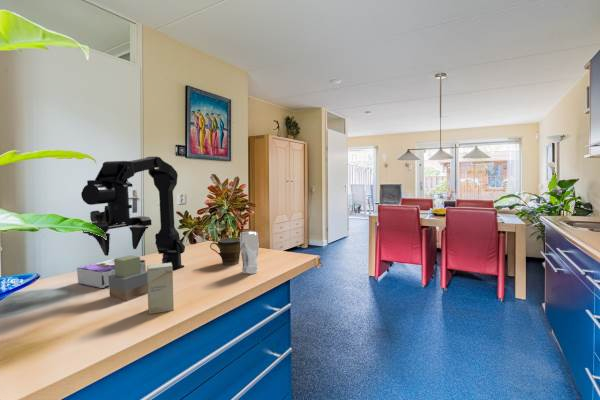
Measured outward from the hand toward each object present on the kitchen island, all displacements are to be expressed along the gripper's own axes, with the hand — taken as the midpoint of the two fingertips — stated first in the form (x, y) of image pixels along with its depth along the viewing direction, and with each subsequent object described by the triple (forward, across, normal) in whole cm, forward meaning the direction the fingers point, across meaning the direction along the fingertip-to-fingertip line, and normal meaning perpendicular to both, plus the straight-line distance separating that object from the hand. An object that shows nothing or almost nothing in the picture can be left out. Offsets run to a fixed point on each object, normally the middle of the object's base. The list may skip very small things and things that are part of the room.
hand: (121, 252), depth 96 cm
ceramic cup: (+13, -40, +9) cm, 43 cm away
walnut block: (+13, 0, +4) cm, 14 cm away
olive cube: (+6, +1, +4) cm, 7 cm away
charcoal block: (+10, 0, +4) cm, 11 cm away
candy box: (+10, +1, -16) cm, 19 cm away
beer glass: (+13, -34, +25) cm, 44 cm away
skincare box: (+13, +4, +22) cm, 26 cm away
